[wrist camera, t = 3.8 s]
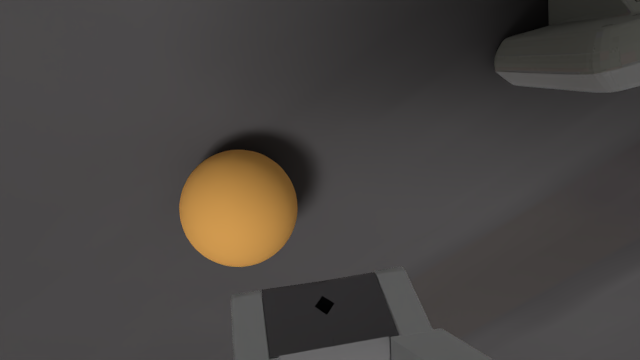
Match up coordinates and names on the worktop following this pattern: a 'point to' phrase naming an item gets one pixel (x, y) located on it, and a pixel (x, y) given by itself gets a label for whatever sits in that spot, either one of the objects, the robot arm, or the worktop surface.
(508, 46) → the digital clock
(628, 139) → the worktop surface
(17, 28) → the worktop surface
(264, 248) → the ball
